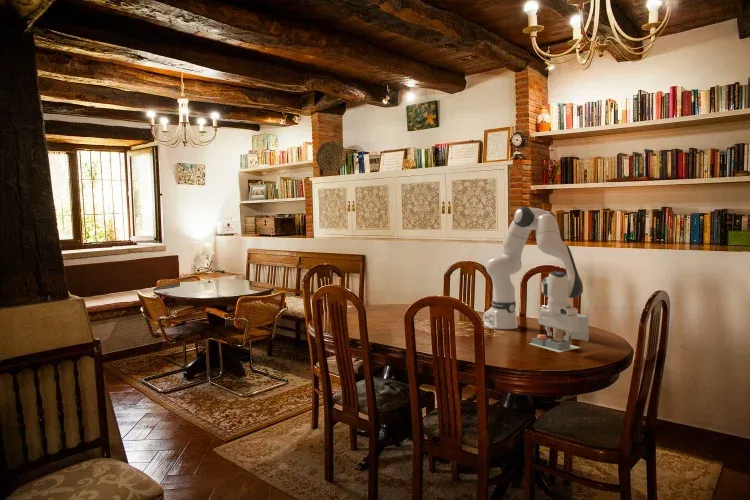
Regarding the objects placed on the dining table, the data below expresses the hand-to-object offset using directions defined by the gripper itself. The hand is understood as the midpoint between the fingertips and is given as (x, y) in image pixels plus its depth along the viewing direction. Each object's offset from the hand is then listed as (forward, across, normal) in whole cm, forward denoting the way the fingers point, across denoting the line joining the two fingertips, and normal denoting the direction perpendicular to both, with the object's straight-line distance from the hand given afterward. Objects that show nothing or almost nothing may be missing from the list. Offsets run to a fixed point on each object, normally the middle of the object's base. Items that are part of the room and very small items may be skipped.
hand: (557, 337), depth 237 cm
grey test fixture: (+6, -3, +1) cm, 7 cm away
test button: (+3, -9, -1) cm, 9 cm away
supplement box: (+6, -6, +22) cm, 24 cm away
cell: (+4, 0, 0) cm, 4 cm away
